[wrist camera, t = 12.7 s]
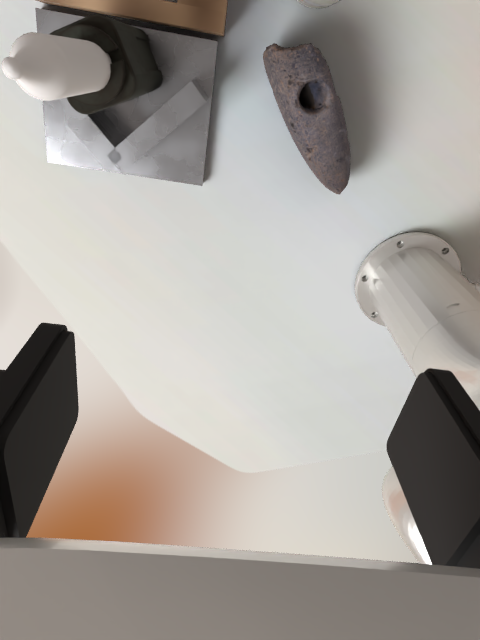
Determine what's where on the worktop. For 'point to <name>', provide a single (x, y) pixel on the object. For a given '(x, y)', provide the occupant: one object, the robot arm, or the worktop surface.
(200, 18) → the wooden rectangular frame
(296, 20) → the worktop surface
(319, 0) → the spray can
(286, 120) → the perforated stone tool
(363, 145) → the worktop surface
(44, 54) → the candle
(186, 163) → the v block
